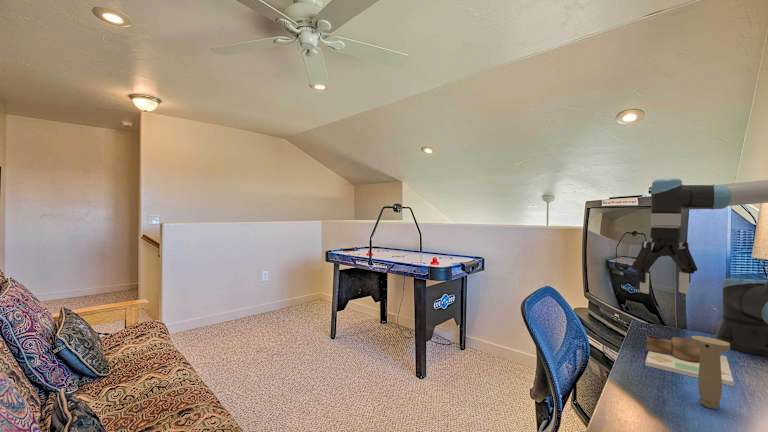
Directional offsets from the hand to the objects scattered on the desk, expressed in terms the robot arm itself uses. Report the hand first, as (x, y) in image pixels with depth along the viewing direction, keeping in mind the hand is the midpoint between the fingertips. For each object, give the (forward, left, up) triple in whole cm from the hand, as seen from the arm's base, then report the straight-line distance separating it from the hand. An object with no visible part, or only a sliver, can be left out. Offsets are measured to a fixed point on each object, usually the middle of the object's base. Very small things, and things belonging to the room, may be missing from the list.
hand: (664, 292), depth 111 cm
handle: (-10, +34, -19) cm, 40 cm away
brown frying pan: (-3, +5, -17) cm, 18 cm away
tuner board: (-6, +6, -19) cm, 21 cm away
